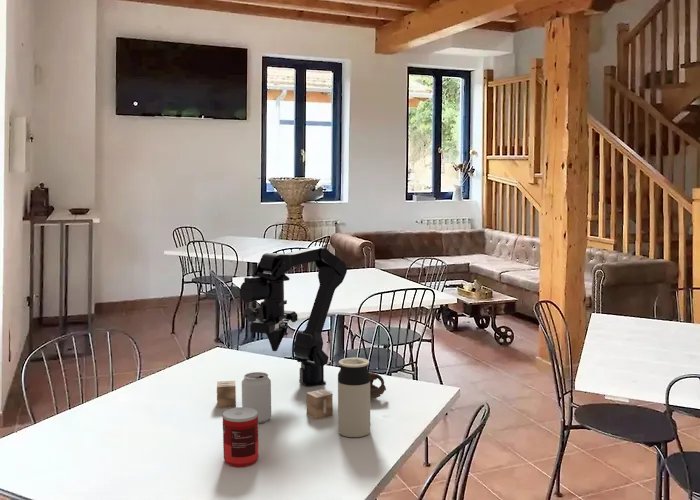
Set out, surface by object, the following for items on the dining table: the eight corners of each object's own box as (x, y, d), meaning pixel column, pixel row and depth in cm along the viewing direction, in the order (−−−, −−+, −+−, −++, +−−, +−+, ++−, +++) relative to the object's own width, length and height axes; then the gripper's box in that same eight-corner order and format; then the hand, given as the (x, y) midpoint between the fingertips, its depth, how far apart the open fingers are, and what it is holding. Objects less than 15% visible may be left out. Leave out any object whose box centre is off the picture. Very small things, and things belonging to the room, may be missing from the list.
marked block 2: (322, 410, 185) (322, 388, 185) (332, 416, 181) (332, 393, 180) (306, 414, 182) (306, 392, 182) (316, 420, 178) (316, 397, 178)
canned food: (240, 450, 159) (239, 404, 157) (266, 458, 154) (265, 411, 153) (216, 462, 152) (214, 414, 151) (242, 470, 148) (241, 421, 147)
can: (266, 425, 174) (265, 379, 173) (238, 423, 176) (237, 378, 174) (275, 415, 181) (274, 371, 180) (248, 413, 183) (247, 370, 182)
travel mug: (359, 440, 164) (359, 367, 162) (331, 434, 168) (331, 362, 166) (376, 430, 171) (376, 359, 169) (349, 424, 175) (348, 355, 173)
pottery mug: (387, 394, 200) (391, 374, 195) (377, 417, 193) (381, 398, 188) (348, 381, 203) (351, 361, 198) (337, 403, 195) (340, 384, 191)
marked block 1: (235, 401, 193) (235, 380, 193) (235, 407, 188) (235, 385, 188) (217, 402, 192) (216, 381, 192) (217, 408, 187) (216, 386, 187)
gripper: (264, 290, 207) (265, 341, 209) (232, 301, 190) (233, 356, 191) (298, 292, 203) (298, 344, 204) (267, 304, 186) (268, 360, 187)
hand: (274, 350), depth 197 cm, fingers closed
